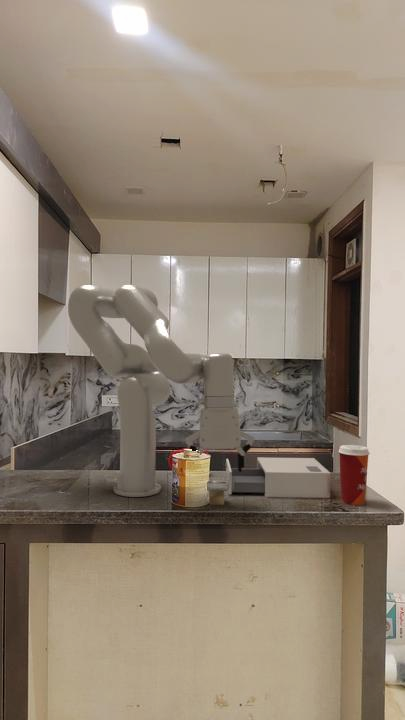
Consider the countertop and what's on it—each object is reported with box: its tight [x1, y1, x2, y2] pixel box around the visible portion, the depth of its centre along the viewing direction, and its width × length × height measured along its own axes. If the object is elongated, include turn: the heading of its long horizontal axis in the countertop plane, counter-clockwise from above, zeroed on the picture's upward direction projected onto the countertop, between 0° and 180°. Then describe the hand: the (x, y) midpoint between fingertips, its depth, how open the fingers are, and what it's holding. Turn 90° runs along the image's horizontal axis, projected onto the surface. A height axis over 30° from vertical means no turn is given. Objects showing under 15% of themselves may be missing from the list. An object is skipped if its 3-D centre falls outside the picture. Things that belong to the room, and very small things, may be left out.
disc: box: [206, 476, 229, 492], centre depth 118 cm, size 6×6×2 cm
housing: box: [256, 456, 331, 499], centre depth 132 cm, size 17×18×7 cm
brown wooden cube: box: [208, 491, 225, 506], centre depth 118 cm, size 4×4×4 cm
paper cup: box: [337, 444, 371, 506], centre depth 120 cm, size 8×8×14 cm
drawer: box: [224, 458, 265, 496], centre depth 132 cm, size 17×16×6 cm
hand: (220, 471), depth 117 cm, fingers open, 9 cm apart
